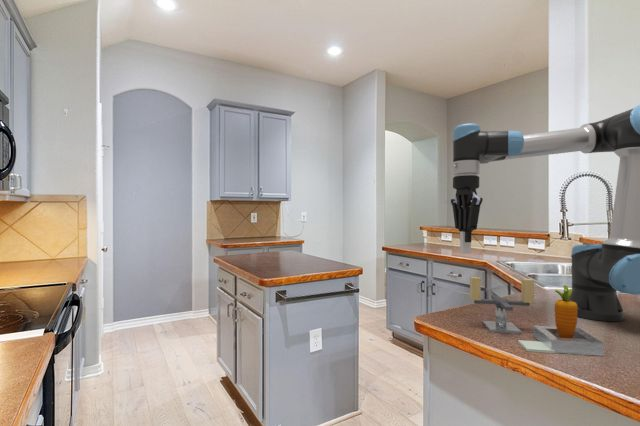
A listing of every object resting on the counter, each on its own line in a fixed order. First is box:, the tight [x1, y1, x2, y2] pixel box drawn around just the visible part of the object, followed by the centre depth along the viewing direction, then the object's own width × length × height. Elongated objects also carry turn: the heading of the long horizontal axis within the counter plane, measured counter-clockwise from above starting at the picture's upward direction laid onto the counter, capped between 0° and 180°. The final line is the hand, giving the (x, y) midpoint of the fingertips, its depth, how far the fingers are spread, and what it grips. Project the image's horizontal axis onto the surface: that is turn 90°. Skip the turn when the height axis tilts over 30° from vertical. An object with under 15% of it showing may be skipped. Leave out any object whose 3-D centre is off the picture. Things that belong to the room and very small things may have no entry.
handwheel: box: [469, 276, 535, 312], centre depth 102 cm, size 16×14×8 cm
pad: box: [517, 339, 556, 354], centre depth 87 cm, size 6×6×1 cm
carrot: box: [554, 284, 578, 338], centre depth 89 cm, size 5×5×15 cm
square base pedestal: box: [482, 305, 522, 335], centre depth 102 cm, size 8×8×7 cm
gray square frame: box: [532, 325, 605, 357], centre depth 89 cm, size 11×11×3 cm
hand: (465, 252), depth 108 cm, fingers closed
